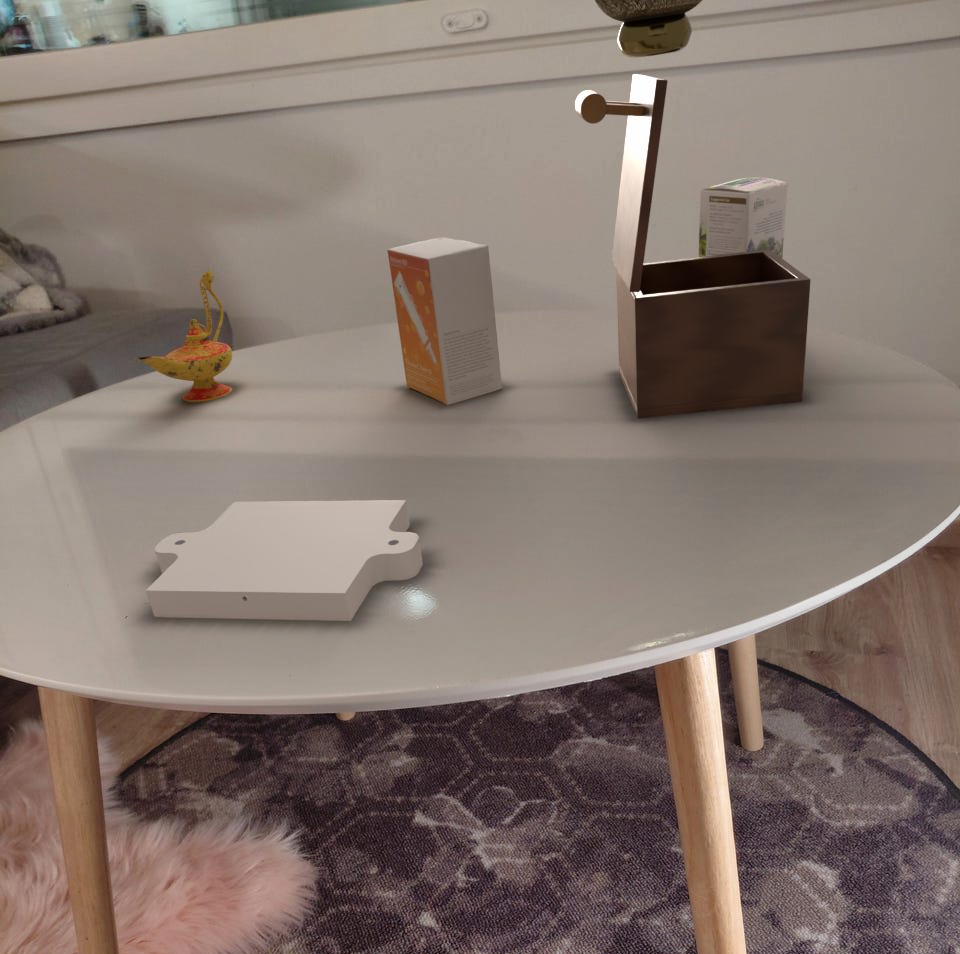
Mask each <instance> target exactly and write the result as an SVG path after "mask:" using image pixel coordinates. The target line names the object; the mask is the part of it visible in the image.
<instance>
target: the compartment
mask: <svg viewBox="0 0 960 954" xmlns="http://www.w3.org/2000/svg"><path fill="white" fill-rule="evenodd" d="M615 280H616V307H617V308H616V312H617V315H616V316H617V341H618V344H617V345H618V346H617V347H618V366H619V367H618V374H619V377H620V379H621V382H622V384H623V387H624V389H625V391H626V394H627V396H628V398H629V401H630V404H631V406H632V408H633V411H634V414H635V416H636V418H637V419H644V418H645V419H646V418H655V417H665V416H675V415H685V414H695V413H705V412H714V411H726V410H734V409H743V408H745V409H746V408H753V407H763V406H764V407H765V406H773V405H783V404H793V403H802V402H803V393H804V382H805V381H804V380H805V368H806V367H805V366H806V352H807V337H808V336H807V335H808V325H809V323H808V321H809V307H810V296H811V295H810V294H811V293H810V292H811V281H812V280H811V278H810V277H808V276H807V275H805V274H804V273H803V272H801V271H800V270H799V269H797V268H796V267H794V266H793V265H792V264H790V263H789V262H787V261H786V260H785V259H784V258H783V257H782V258H781V257H779V256H778V255H777V254H775V253H774V252H773V251H771V250H770V249H768V250H759V251H750V252H741V253H732V254H723V255H714V256H705V257H699V256H696V257H689V258H687V257H686V258H679V259H678V258H677V259H669V260H662V261H652V262H644V263H643V271H642V278H641V286H640V292H630V291H629V290H628V288H627V286H626V285H625V283H624V281H623V279H622V278H621V276H620V274H619V273H618V271H617V269H616V268H615Z"/></svg>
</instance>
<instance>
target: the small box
mask: <svg viewBox="0 0 960 954" xmlns="http://www.w3.org/2000/svg"><path fill="white" fill-rule="evenodd" d="M489 251H490V250H489V245H488V244H481V243H476V242H473V241H469V240H466V239H465V240H464V239H455V238H450V237H446V236H445V237H436V238H431V239H426V240H421V241H417V242H416V241H415V242H412V243H408V244H403V245H399V246H395V247H391V248H387V258H388V263H389V269H390V271H389V272H390V279H391V284H392V290H393V291H392V292H393V299H394V305H395V313H396V319H397V326H398V332H399V333H398V334H399V341H400V346H401V355H402V361H403V369H404V375H405V383H406V387H407V388H408V389H409V388H410V389H412V390H414V391H417V392H419V393H421V394H423V395H425V396H428V397H430V398H432V399H434V400H437V401H438V402H441V403H443V404H444V405H446V406H450V405H454V404H456V403H459V402H462V401H466V400H470V399H473V398H476V397H480V396H484V395H487V394H490V393H493V392H497V391H499V390H501V389H503V383H502V373H501V372H502V371H501V364H500V353H499V344H498V343H499V342H498V331H497V322H496V321H497V320H496V312H495V311H496V310H495V304H494V303H495V300H494V290H493V280H492V270H491V260H490V252H489Z"/></svg>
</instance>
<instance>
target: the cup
mask: <svg viewBox="0 0 960 954" xmlns="http://www.w3.org/2000/svg"><path fill="white" fill-rule="evenodd" d="M702 1H703V0H594V2H595V3H596V5H597V7H598V8H599V9H600V10H601V11H602V13H604V14H605V15H606V16H607V17H609V18H611V19H613V20H615V21H618V22H622V24H621V26H620V29H619V31H618V35H617V44H618V47H619V50H620V52H621V54H622V55H623V56H625V57H627V58H633V59H634V58H645V57H653V56H661V55H667V54H672V53H677V52H680V51H682V50H684V49H685V48H686V47H687V46H688V45H689V42H690V39H691V37H692V32H693V28H692V25H691V21H690V19H689V17H688V15H687V14H686V13H688V12H690V11H692V10H693V9H695V8H696V7H697V6H699V4H701V3H702Z"/></svg>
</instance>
